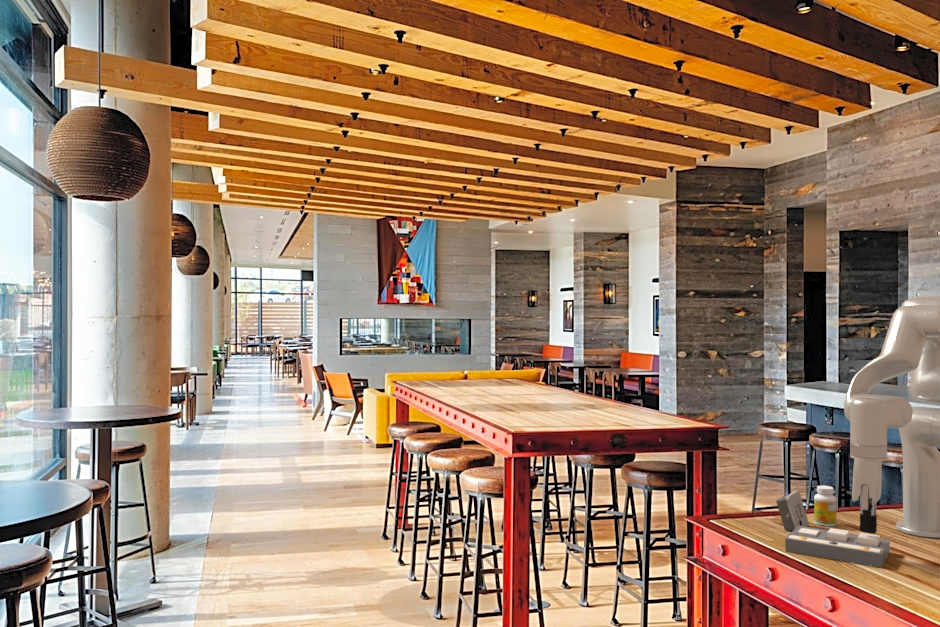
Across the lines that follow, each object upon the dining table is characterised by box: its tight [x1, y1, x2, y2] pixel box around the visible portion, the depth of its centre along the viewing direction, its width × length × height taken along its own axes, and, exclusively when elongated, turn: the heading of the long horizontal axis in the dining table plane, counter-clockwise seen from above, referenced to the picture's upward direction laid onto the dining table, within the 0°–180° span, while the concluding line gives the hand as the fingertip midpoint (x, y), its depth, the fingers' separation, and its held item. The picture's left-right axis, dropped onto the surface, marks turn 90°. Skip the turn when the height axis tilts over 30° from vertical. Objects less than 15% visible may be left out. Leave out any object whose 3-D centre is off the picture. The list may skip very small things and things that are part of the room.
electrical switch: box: [775, 490, 810, 531], centre depth 196 cm, size 9×5×9 cm, turn 141°
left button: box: [798, 528, 819, 537], centre depth 181 cm, size 4×4×2 cm
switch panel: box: [784, 526, 891, 568], centre depth 176 cm, size 13×20×3 cm, turn 54°
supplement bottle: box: [813, 485, 838, 527], centre depth 199 cm, size 5×5×10 cm
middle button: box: [827, 527, 850, 542], centre depth 177 cm, size 4×4×2 cm
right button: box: [858, 532, 881, 547], centre depth 173 cm, size 4×4×2 cm
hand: (868, 531), depth 173 cm, fingers closed
